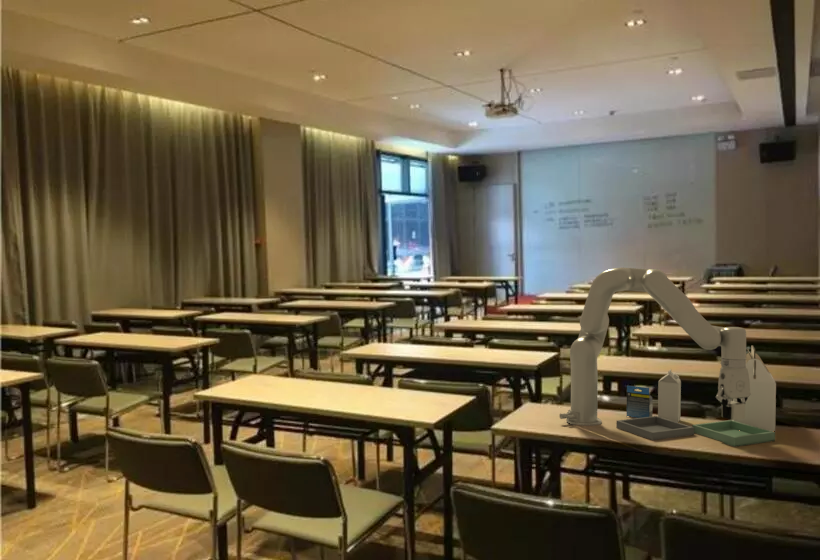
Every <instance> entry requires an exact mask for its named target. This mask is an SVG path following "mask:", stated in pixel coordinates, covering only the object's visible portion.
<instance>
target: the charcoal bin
mask: <svg viewBox="0 0 820 560" xmlns="http://www.w3.org/2000/svg"><path fill="white" fill-rule="evenodd" d="M615 424H616V429H618V430H622V431H625V432H627V433H631V434H633V435H637V436H639V437H642V438H643V439H644V438H645V439H647V440H650V441H658V440H666V439H672V438H673V439H674V438H680V437H687V436H694V435H695V433H694V427H692V425H691V426H690V425H687V424H684V423H681V422H679V423H678V422H675V421H671V420H668V419H665V418H661V417H658V415H654V416H653V415H652V417H643V418H637V417H633V418H627V419H618V420H616V422H615Z"/></svg>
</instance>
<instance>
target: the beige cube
mask: <svg viewBox="0 0 820 560" xmlns="http://www.w3.org/2000/svg"><path fill="white" fill-rule="evenodd" d="M730 407H731V419H730V420H738V419H745V404H743V403H739V402H735V401H732V400H731V404H730ZM721 417H722V418H724V417H723V416H722V415H721Z"/></svg>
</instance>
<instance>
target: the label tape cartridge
mask: <svg viewBox="0 0 820 560" xmlns="http://www.w3.org/2000/svg"><path fill="white" fill-rule="evenodd" d="M627 416H631V417H630V418H643V417H652V416H653V396H652V395H651V394H650V387H645V386H636V385H628V384H627V385H626V417H627Z"/></svg>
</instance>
